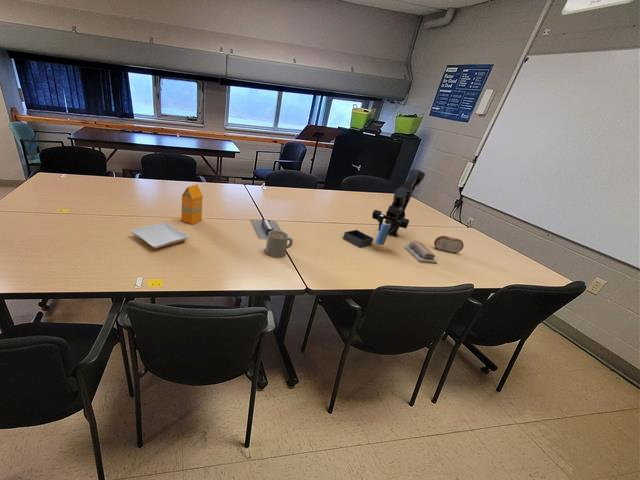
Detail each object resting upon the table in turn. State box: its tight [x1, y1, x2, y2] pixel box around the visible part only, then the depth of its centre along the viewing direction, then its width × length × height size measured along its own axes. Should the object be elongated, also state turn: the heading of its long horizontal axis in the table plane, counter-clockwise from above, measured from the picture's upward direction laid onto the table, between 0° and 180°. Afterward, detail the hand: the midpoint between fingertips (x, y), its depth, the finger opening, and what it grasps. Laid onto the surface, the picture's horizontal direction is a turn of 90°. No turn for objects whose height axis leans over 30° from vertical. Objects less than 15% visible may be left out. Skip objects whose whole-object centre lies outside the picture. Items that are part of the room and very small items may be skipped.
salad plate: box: [129, 222, 190, 249], centre depth 156 cm, size 21×21×3 cm
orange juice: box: [181, 184, 204, 225], centre depth 177 cm, size 8×9×20 cm
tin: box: [433, 235, 465, 254], centre depth 185 cm, size 15×3×8 cm, turn 71°
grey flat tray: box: [251, 219, 281, 239], centre depth 182 cm, size 14×25×4 cm, turn 9°
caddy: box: [342, 229, 374, 248], centre depth 183 cm, size 11×13×4 cm
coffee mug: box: [264, 230, 294, 258], centre depth 157 cm, size 13×10×10 cm
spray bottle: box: [374, 218, 391, 246], centre depth 171 cm, size 5×5×14 cm
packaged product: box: [404, 240, 438, 264], centre depth 176 cm, size 18×5×10 cm
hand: (383, 232), depth 170 cm, fingers closed on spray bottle, 5 cm apart
